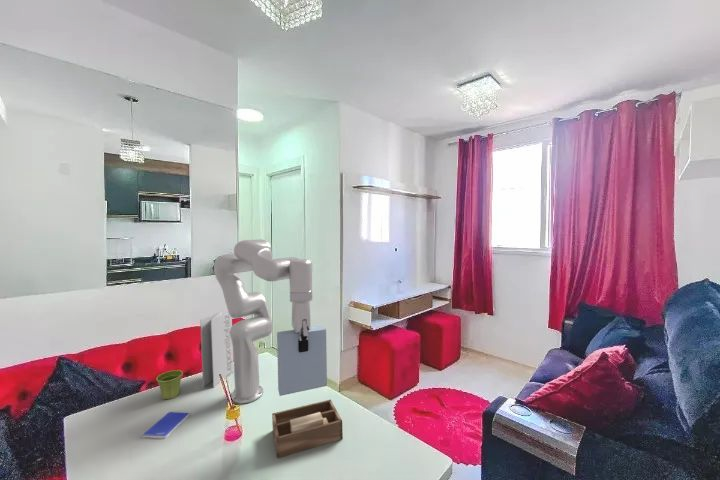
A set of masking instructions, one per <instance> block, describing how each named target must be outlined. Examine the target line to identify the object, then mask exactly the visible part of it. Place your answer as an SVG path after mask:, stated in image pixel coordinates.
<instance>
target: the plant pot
mask: <svg viewBox="0 0 720 480" xmlns="http://www.w3.org/2000/svg"><path fill="white" fill-rule="evenodd" d="M183 374H184V372H183V370H180V369H177V370H173V369H172V370H168V371H165V372H163V373H161V374H159V375H157V377H156V379H155V380H156V381H157V383H158V386H159V389H160V394H161V399H162V400H167V399H169V400H171V399H173V398H174V399H175V398H176V397H177V396H178V395H179V394H180V390H181V388H180V387H181V380H182V377H183Z"/></svg>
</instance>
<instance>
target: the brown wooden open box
mask: <svg viewBox="0 0 720 480" xmlns="http://www.w3.org/2000/svg"><path fill="white" fill-rule="evenodd" d="M318 412H320V413H321V415H322V417H323V418H326V419H327V421H328V423H327V424H323V425H320V426H316V427H312V428H309V429H305V430H301V431H297V432H294V433H290V420H292V419H296V418H299V417H303V416H307V415H311V414H314V413H318ZM271 417H272V421H271V422H272V435H273V440H274V447H275V448H274V449H275V453H276V458H277V459H280V458H283V457H286V456H290V455H293V454H297V453H300V452H302V451H306V450H307V451H308V450H310V449H313V448H317V447H320V446H323V445H324V446H325V445H326V444H330V443H333V442H334V443H335V442H337V441H340V440H343V434H344V433H343V420H342V418H341V417H340V414H339V412H338V411H337V408H336V407H335V405H334V402H333V401H332V399H327V400H323V401H319V402H315V403H311V404H310V403H309V404H306V405H302V406H297V407H294V408H290V409H286V410H282V411H277V412H273V413H272V414H271Z"/></svg>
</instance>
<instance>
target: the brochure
mask: <svg viewBox="0 0 720 480" xmlns="http://www.w3.org/2000/svg"><path fill="white" fill-rule="evenodd" d="M199 322H200V343H201V345H200V346H201V367H202V368H201V369H202V372H201V373H202V386H203V387H205V386H207V385H209V383H211V382H212V388H216V387H217V386H218V385H219V384H221V383H222V382H220V379H219V374H221V375H222V377H223V378H224V380H226V379H227V378H228V377H230V376H231V375H232V374H233V373H234V355H233V346H232V341H231V337H230V329H231V327H232V326H233V318H232V317H231V316H230V315H229V312H228V311H227V312H226V313H224V314H223V310H220V311H218V312H215V313H213V314H211V315H210V314H209V316H206V317H204V318H203V317H202V319H200V320H199Z"/></svg>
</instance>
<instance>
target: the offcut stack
mask: <svg viewBox="0 0 720 480" xmlns="http://www.w3.org/2000/svg"><path fill="white" fill-rule="evenodd" d="M327 423H328V421H327V419H326V418H323V417H322V415H321V413H320V412H318V413H314V414H311V415H307V416H303V417H299V418H296V419H292V420H290V433H294V432H297V431H301V430H305V429H309V428H312V427H316V426H320V425H323V424H327Z"/></svg>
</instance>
